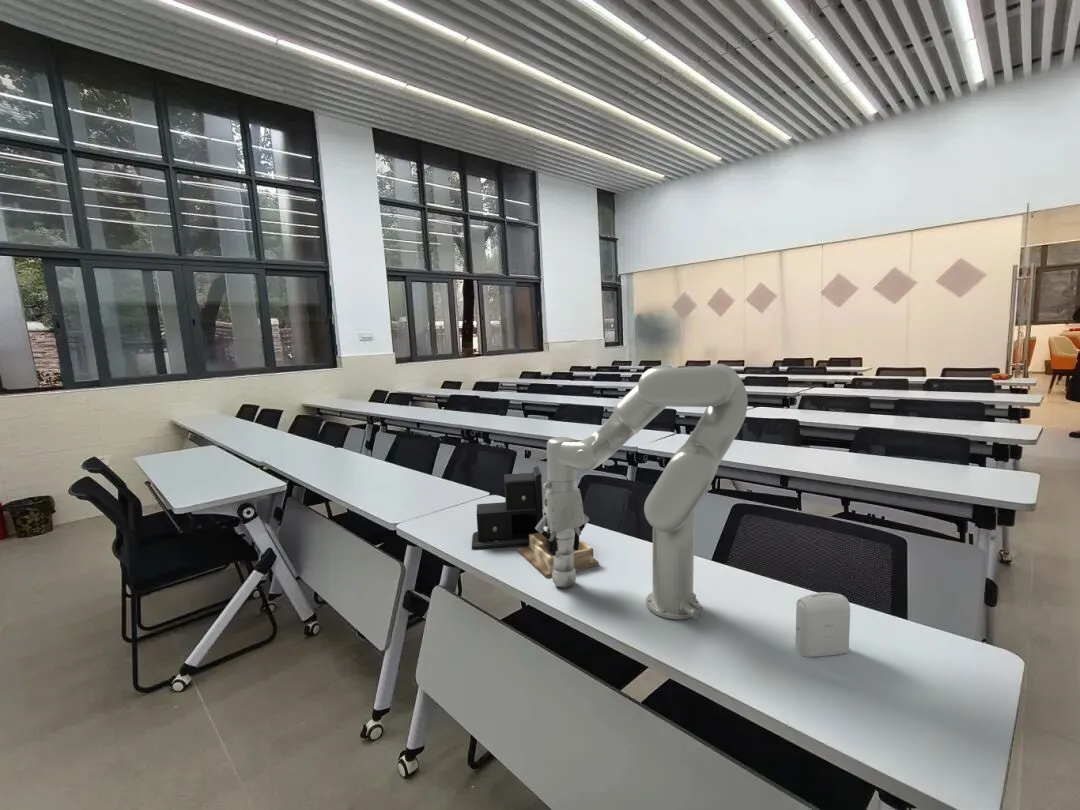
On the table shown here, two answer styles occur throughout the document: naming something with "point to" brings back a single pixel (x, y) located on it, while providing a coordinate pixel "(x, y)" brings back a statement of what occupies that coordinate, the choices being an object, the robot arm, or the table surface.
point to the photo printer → (822, 624)
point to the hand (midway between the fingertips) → (563, 550)
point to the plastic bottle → (564, 559)
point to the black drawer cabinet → (511, 513)
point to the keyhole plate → (545, 560)
